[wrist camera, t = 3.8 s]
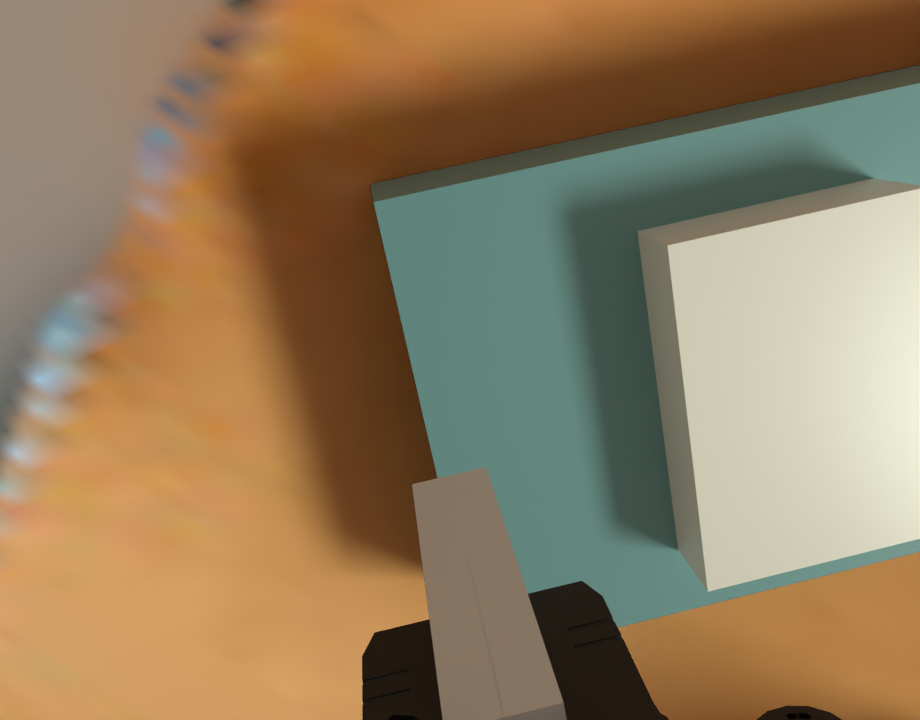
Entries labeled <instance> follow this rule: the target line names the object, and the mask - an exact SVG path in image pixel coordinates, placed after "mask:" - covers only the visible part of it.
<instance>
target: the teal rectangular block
mask: <svg viewBox="0 0 920 720" xmlns="http://www.w3.org/2000/svg"><path fill="white" fill-rule="evenodd" d="M872 178H876V179H882V180H889V181H895V182H901V183H907V184H914V185H920V65H917V66H913V67H908V68H903V69H899V70H894V71H890V72H885V73H880V74H876V75H871V76H867V77H862V78H857V79H853V80H848V81H843V82H839V83H834V84H830V85H825V86H820V87H816V88H811V89H807V90H802V91H797V92H793V93H788V94H784V95H779V96H774V97H770V98H765V99H761V100H756V101H751V102H747V103H742V104H737V105H733V106H728V107H724V108H719V109H714V110H710V111H705V112H701V113H696V114H691V115H687V116H682V117H678V118H673V119H668V120H664V121H659V122H654V123H650V124H645V125H641V126H636V127H631V128H627V129H622V130H618V131H613V132H608V133H604V134H599V135H595V136H590V137H585V138H581V139H576V140H571V141H567V142H562V143H558V144H553V145H548V146H544V147H539V148H535V149H530V150H525V151H521V152H516V153H512V154H507V155H502V156H498V157H493V158H488V159H484V160H479V161H475V162H470V163H465V164H461V165H456V166H452V167H447V168H442V169H438V170H433V171H429V172H424V173H419V174H415V175H410V176H405V177H401V178H396V179H392V180H387V181H382V182H378V183H373V184H370V187H371V192H372V197H373V202H374V207H375V211H376V215H377V220H378V224H379V228H380V233H381V237H382V241H383V245H384V250H385V254H386V258H387V263H388V267H389V271H390V276H391V280H392V284H393V289H394V293H395V297H396V302H397V306H398V310H399V314H400V319H401V323H402V327H403V332H404V336H405V340H406V345H407V349H408V353H409V358H410V362H411V366H412V371H413V375H414V379H415V383H416V388H417V392H418V396H419V401H420V405H421V409H422V414H423V418H424V422H425V427H426V431H427V435H428V440H429V444H430V448H431V453H432V457H433V461H434V465H435V470H436V474H437V478H441V477H445V476H449V475H454V474H458V473H462V472H467V471H471V470H475V469H479V468H484V467H486V469H487V472H488V475H489V478H490V481H491V484H492V487H493V490H494V493H495V496H496V499H497V502H498V505H499V508H500V511H501V514H502V517H503V520H504V523H505V526H506V529H507V532H508V535H509V538H510V541H511V545H512V548H513V551H514V554H515V557H516V560H517V563H518V566H519V569H520V572H521V575H522V578H523V581H524V584H525V587H526V590H527V593H528V594H529V593H533V592H537V591H541V590H545V589H549V588H554V587H558V586H562V585H566V584H570V583H574V582H578V581H583V582H584V583H586V584H587V585H588V586H590V587H591V588H592V589H594V590H595V591H596V592H598V593H599V594H601V595H602V596H603V598H604V600H605V602H606V604H607V606H608V608H609V611H610V613H611V615H612V617H613V621H615V623H616V625H617V627H622V626H626V625H630V624H634V623H638V622H642V621H646V620H650V619H654V618H658V617H662V616H666V615H670V614H674V613H678V612H682V611H686V610H690V609H694V608H698V607H702V606H706V605H710V604H714V603H718V602H722V601H726V600H730V599H734V598H738V597H742V596H746V595H750V594H754V593H757V592H761V591H765V590H769V589H773V588H777V587H781V586H785V585H789V584H793V583H797V582H801V581H805V580H809V579H813V578H817V577H821V576H825V575H829V574H833V573H837V572H841V571H845V570H849V569H853V568H857V567H861V566H865V565H869V564H873V563H877V562H881V561H885V560H889V559H893V558H897V557H901V556H905V555H909V554H913V553H917V552H920V539H917V540H913V541H909V542H905V543H901V544H897V545H893V546H889V547H885V548H881V549H877V550H873V551H869V552H865V553H861V554H857V555H853V556H849V557H845V558H841V559H837V560H833V561H829V562H825V563H821V564H817V565H813V566H809V567H805V568H801V569H797V570H793V571H789V572H785V573H781V574H777V575H773V576H769V577H765V578H761V579H757V580H753V581H749V582H745V583H741V584H737V585H733V586H729V587H725V588H721V589H717V590H713V591H709V592H708V591H707V590H706V588H705V587H704V586H703V584H702V583H701V581H700V580H699V579H698V577H697V576H696V574H695V573H694V572H693V570H692V569H691V567H690V566H689V565H688V563H687V562H686V560H685V559H684V558H683V556H682V555H681V553H680V552H679V551H678V544H677V536H676V529H675V521H674V513H673V505H672V497H671V490H670V482H669V474H668V466H667V459H666V451H665V443H664V435H663V427H662V420H661V412H660V404H659V396H658V388H657V381H656V373H655V365H654V357H653V349H652V342H651V334H650V326H649V318H648V310H647V303H646V295H645V287H644V279H643V271H642V264H641V256H640V248H639V240H638V232H637V231H640V230H645V229H649V228H654V227H658V226H662V225H667V224H671V223H676V222H680V221H685V220H689V219H694V218H698V217H703V216H707V215H712V214H716V213H720V212H725V211H729V210H734V209H738V208H743V207H747V206H752V205H756V204H761V203H765V202H770V201H774V200H778V199H783V198H787V197H792V196H796V195H801V194H805V193H810V192H814V191H819V190H823V189H828V188H832V187H836V186H841V185H845V184H850V183H854V182H859V181H863V180H868V179H872Z"/></svg>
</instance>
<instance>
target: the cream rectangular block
mask: <svg viewBox="0 0 920 720" xmlns="http://www.w3.org/2000/svg"><path fill="white" fill-rule="evenodd" d="M637 232H638V240H639V248H640V256H641V264H642V271H643V279H644V287H645V295H646V303H647V310H648V318H649V326H650V334H651V342H652V349H653V357H654V365H655V373H656V381H657V388H658V396H659V404H660V412H661V420H662V427H663V435H664V443H665V451H666V459H667V466H668V474H669V482H670V490H671V497H672V505H673V513H674V521H675V529H676V536H677V544H678V551H679V552H680V553H681V555H682V556H683V558H684V559H685V560H686V562H687V563H688V565H689V566H690V567H691V569H692V570H693V572H694V573H695V574H696V576H697V577H698V579H699V580H700V581H701V583H702V584H703V586H704V587H705V588H706V590H707V591H708V592H709V591H713V590H717V589H721V588H725V587H729V586H733V585H737V584H741V583H745V582H749V581H753V580H757V579H761V578H765V577H769V576H773V575H777V574H781V573H785V572H789V571H793V570H797V569H801V568H805V567H809V566H813V565H817V564H821V563H825V562H829V561H833V560H837V559H841V558H845V557H849V556H853V555H857V554H861V553H865V552H869V551H873V550H877V549H881V548H885V547H889V546H893V545H897V544H901V543H905V542H909V541H913V540H917V539H920V185H914V184H907V183H901V182H895V181H889V180H882V179H876V178H872V179H868V180H863V181H859V182H854V183H850V184H845V185H841V186H836V187H832V188H828V189H823V190H819V191H814V192H810V193H805V194H801V195H796V196H792V197H787V198H783V199H778V200H774V201H770V202H765V203H761V204H756V205H752V206H747V207H743V208H738V209H734V210H729V211H725V212H720V213H716V214H712V215H707V216H703V217H698V218H694V219H689V220H685V221H680V222H676V223H671V224H667V225H662V226H658V227H654V228H649V229H645V230H640V231H637Z"/></svg>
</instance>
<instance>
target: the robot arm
mask: <svg viewBox="0 0 920 720" xmlns="http://www.w3.org/2000/svg"><path fill="white" fill-rule="evenodd" d="M412 489H413V497H414V504H415V512H416V520H417V527H418V535H419V543H420V550H421V558H422V566H423V573H424V581H425V589H426V596H427V604H428V612H429V619H430V620H425V621H421V622H417V623H413V624H409V625H405V626H400V627H396V628H392V629H388V630H384V631H380V632H376V633H374V635H373V637H372V639H371V641H370V643H369V645H368V646H367V648H366V650H365V652H364V654H363V656H362V680H363V685H362V689H363V720H669V719H668V718H667V717H666V716H664V715H663V714H661V713H660V712H659V711H658V709H657V708H656V706H655V705H654V703H653V701H652V699H651V697H650V695H649V693H648V691H647V689H646V686H645V684H644V682H643V680H642V678H641V676H640V674H639V672H638V670H637V667H636V665H635V663H634V661H633V659H632V657H631V655H630V653H629V651H628V648H627V646H626V644H625V642H624V640H623V639H622V637H621V634H620V632H619V630H618V627H617V625H616V623H615V621H613V617H612V615H611V613H610V611H609V608H608V606H607V604H606V602H605V600H604V598H603V596H602V595H601V594H599V593H598V592H596V591H595V590H594V589H592V588H591V587H590V586H588V585H587V584H586V583H584V582H583V581H578V582H574V583H570V584H566V585H562V586H558V587H554V588H549V589H545V590H541V591H537V592H533V593H529V594H528V593H527V590H526V587H525V584H524V581H523V578H522V575H521V572H520V569H519V566H518V563H517V560H516V557H515V554H514V551H513V548H512V545H511V541H510V538H509V535H508V532H507V529H506V526H505V523H504V520H503V517H502V514H501V511H500V508H499V505H498V502H497V499H496V496H495V493H494V490H493V487H492V484H491V481H490V478H489V475H488V472H487V469H486V467H484V468H479V469H475V470H471V471H467V472H462V473H458V474H454V475H449V476H445V477H441V478H437V479H432V480H428V481H424V482H419V483H415V484H412ZM757 720H841V719H840V718H838V717H836V716H835V715H833V714H832V713H830V712H826V711H823V710H819V709H816V708H813V707H809V706H784V707H781V708H777V709H774V710H770V711H767V712H766V713H765V714H763V715H762V716H761V717H759V718H758V719H757Z"/></svg>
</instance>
